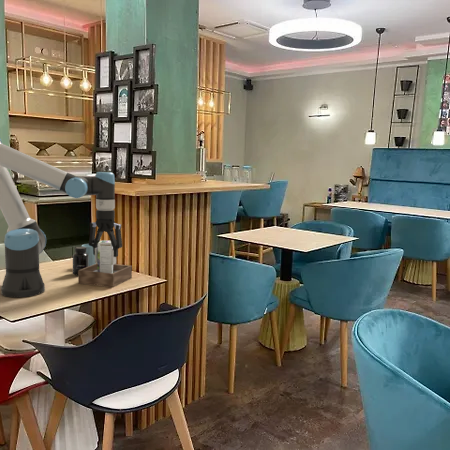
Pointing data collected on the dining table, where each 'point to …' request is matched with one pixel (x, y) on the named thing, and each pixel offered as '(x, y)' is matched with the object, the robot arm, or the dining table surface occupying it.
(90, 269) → the socket crate
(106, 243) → the syrup box
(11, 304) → the dining table surface
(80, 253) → the supplement bottle
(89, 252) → the cup
